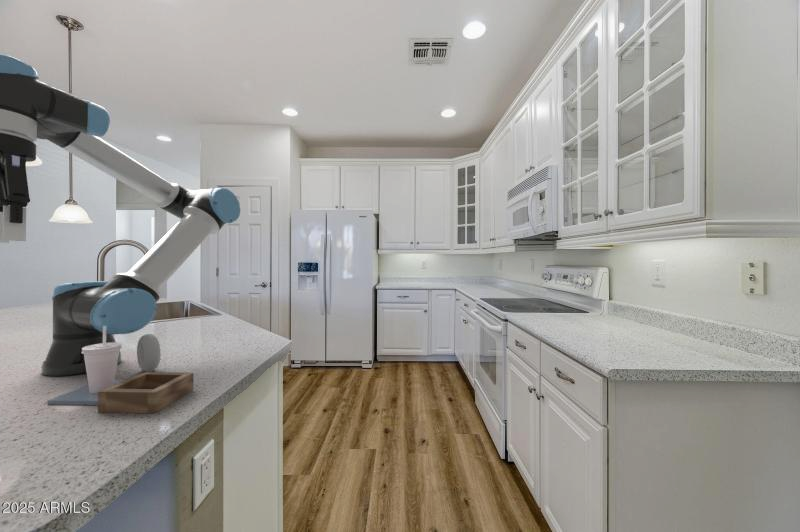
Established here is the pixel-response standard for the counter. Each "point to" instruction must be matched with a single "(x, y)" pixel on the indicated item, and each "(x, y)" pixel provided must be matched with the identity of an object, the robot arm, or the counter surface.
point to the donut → (148, 352)
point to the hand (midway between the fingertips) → (5, 241)
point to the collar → (145, 392)
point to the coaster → (77, 397)
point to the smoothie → (101, 363)
